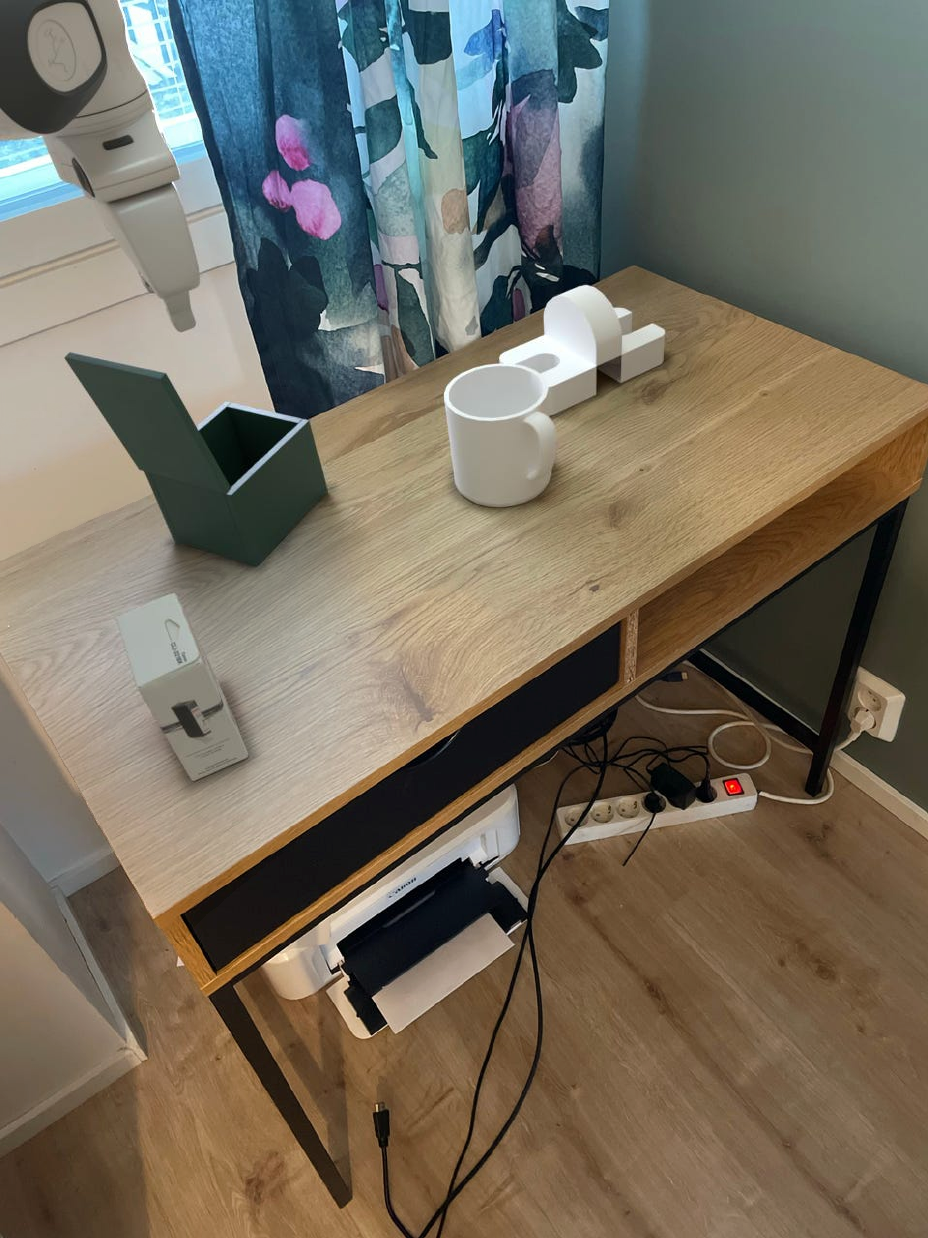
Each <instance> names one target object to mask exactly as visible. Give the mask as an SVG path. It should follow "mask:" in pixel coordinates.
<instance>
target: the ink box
mask: <svg viewBox="0 0 928 1238" xmlns="http://www.w3.org/2000/svg"><path fill="white" fill-rule="evenodd" d="M180 601H181V600H180V599H179V596H178V594H177V593H174V592H172V593H169V594H165V595H164V596H160V597H158V598H157V599H154V600H152V601H150V602H147V603H145V604H143V605H140V606H138V607H135V608H133V609H130V610H127V611H125V612H123V613H120V614H118V615H116V616H115V617H114V618H115V621H116V625H117V629H118V631H119V632H118V633H119V634H120V638H121V642H122V645H123V647H124V651H125V654H126V657H127V661H128V665H129V667H130V670H131V673H132V674H131V675H132V677H133V679H134V683H135V686H136V689H137V691H138V692H139V694H140V695H141V697H142V699H143V701H144V702H145V705H146V706H147V708H148V709H149V711H150V713H151V714H152V716H153V718H154V720H155V721H156V723H157V725H158V726H159V728H160V730H161V732H162V733H163V735H164V736H165V738H166V740H167V741H168V742H169V745H170V746H171V748H172V750H173V751H174V753H175V755H176V756H177V759H178V760H179V762H180V764H182V767H183V768H184V771H185V772H186V774H187V775H188V777H189V778H190V780H191V781H192V782H195V781H197V780H200V779H201V778H204V777H207V776H209V775H211V774H213V773H216V772H219V771H220V770H223V769H224V768H225V769H226V768H227V767H229V766H232V765H233V764H236V763H238V762H241V761H243V760H246V759H247V758H248V757H249V753H248V749H247V747H246V745H245V743H244V740H243V737H242V735H241V733H240V730H239V727H238V724H237V722H236V720H235V717H234V714H233V713H232V710H231V707H230V705H229V703H228V699H227V698H226V695H225V693H224V690H223V688H222V686H221V684H220V682H219V680H218V678H217V676H216V675H217V674H215V670H214V669H213V667H212V665H211V663H210V661H209V659H208V656H207V655H206V653H205V652H206V651H204V648H203V647H202V646H203V645H201V642H200V640H199V638H198V636H197V634H196V632H195V630H194V627H193V625H192V623H191V622H190V619H189V618H188V616H187V614H186V612H185V610H184V607H183V605H182V602H180Z"/></svg>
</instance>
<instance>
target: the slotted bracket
mask: <svg viewBox="0 0 928 1238" xmlns="http://www.w3.org/2000/svg"><path fill="white" fill-rule="evenodd" d="M543 330H544V331H543V335H540V336H539V337H537V338H534V339H531V340H529V341H526V342H525V343H522V344H520V345H518V346H515V347H513V348H511V349H509V350H505V351H504V352H503V353H501V354H500V355H499V357H498V360H499V361H498V362H499V364H516V365H521V366H525V367H528V368H531V369H533V370H535V371H537V372H538V373H540V374H541V375H542V376H543V377H544V378H545V380H546V381H547V384H548V390H549V417H550V416H554V415H556V414H559V413H560V412H562V411H565V410H567V409H569V408H571V407H573V406H575V405H578V404H580V403H582V402H584V401H586V400H588V399H591V398H593V397H595V396H596V395H597V370H598V371H600V372H602V373H603V374H605V375H606V376H608V377H610V378H612V379H613V380H615V381H616V382H618V383H619V384H622V383H625V382H626V381H629V380H631V379H633V378H635V377H637V376H639V375H641V374H643V373H645V372H648V371H650V370H652V369H654V368H656V367H658V366H660V365H662V364H663V363H664V358H665V341H666V330H665V328H663V327H662V326H659V325H658V324H656V323H650V324H648V325H646V326H643V327H641V328H639V329H636V330H634V331H633V312H632V310H631V311H630V310H629V309H627V308H625V307H613V305H612V303H611V302H610V300H609V299H608V298H607V296H606V295H605V294H604V293H603V292H601V291H600V290H599V289H597V288H596V287H595V286H591V285H588V284H583V285H579V286H577V287H575V288H572V289H569V290H567V291H565V292H563V293H560V294H557V295H555V296H553V297H552V298H551V299H550V300H549V301H548V302H547V303H546V306H545V308H544V311H543Z"/></svg>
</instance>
